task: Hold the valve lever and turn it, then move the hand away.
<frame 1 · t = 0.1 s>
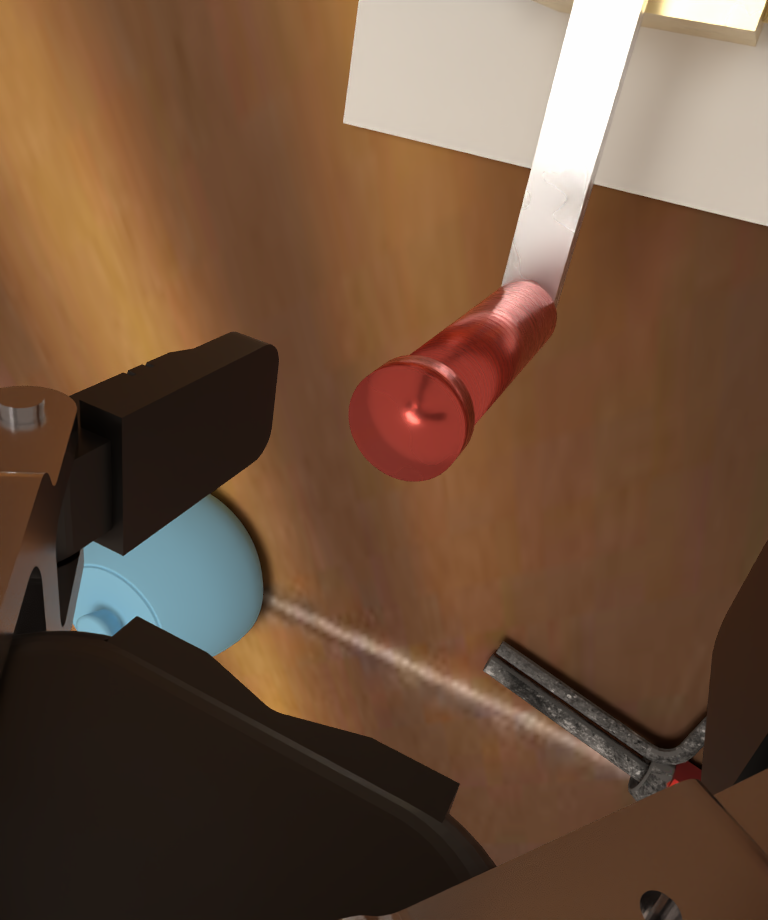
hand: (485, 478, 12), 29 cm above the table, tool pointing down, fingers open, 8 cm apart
valve lever: (540, 119, 20), point 18 cm above the table, hinge at 0.0°
sugar bowl: (198, 549, 60), on the table
dark elongated piece: (687, 732, 48), on the table
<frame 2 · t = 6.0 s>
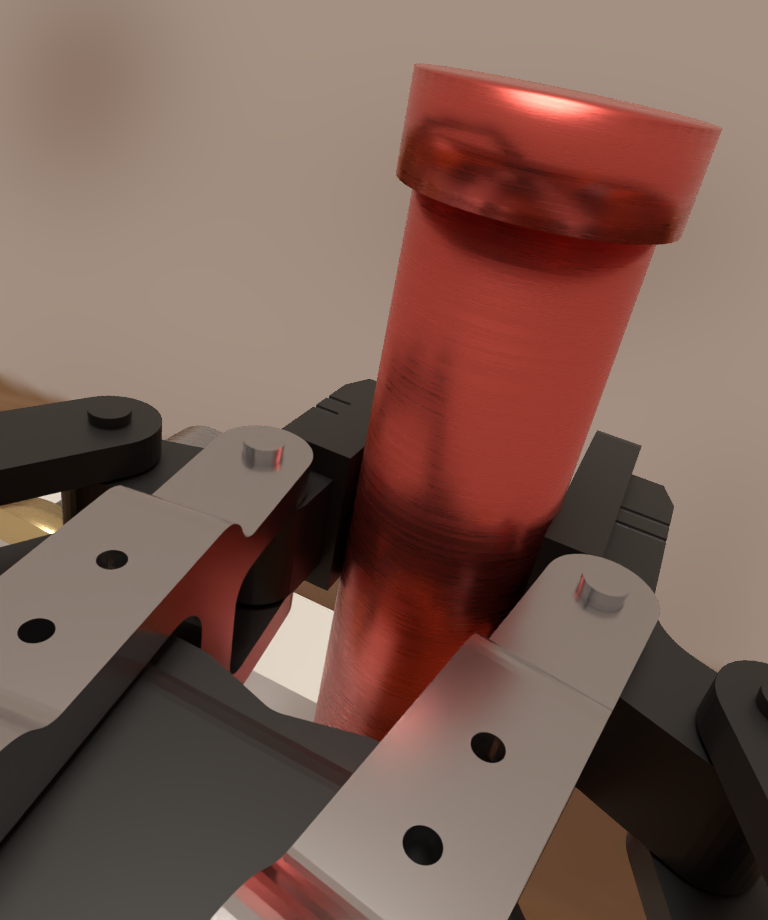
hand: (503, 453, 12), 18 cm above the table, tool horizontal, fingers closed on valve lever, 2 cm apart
valve lever: (63, 418, 12), point 18 cm above the table, hinge at 0.0°, touching gripper
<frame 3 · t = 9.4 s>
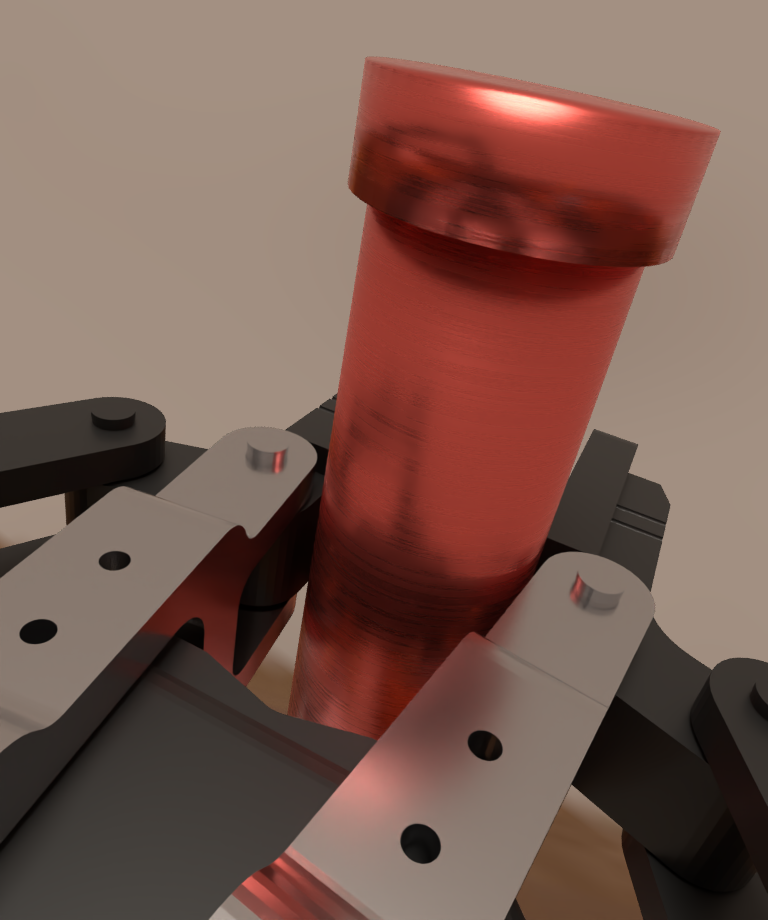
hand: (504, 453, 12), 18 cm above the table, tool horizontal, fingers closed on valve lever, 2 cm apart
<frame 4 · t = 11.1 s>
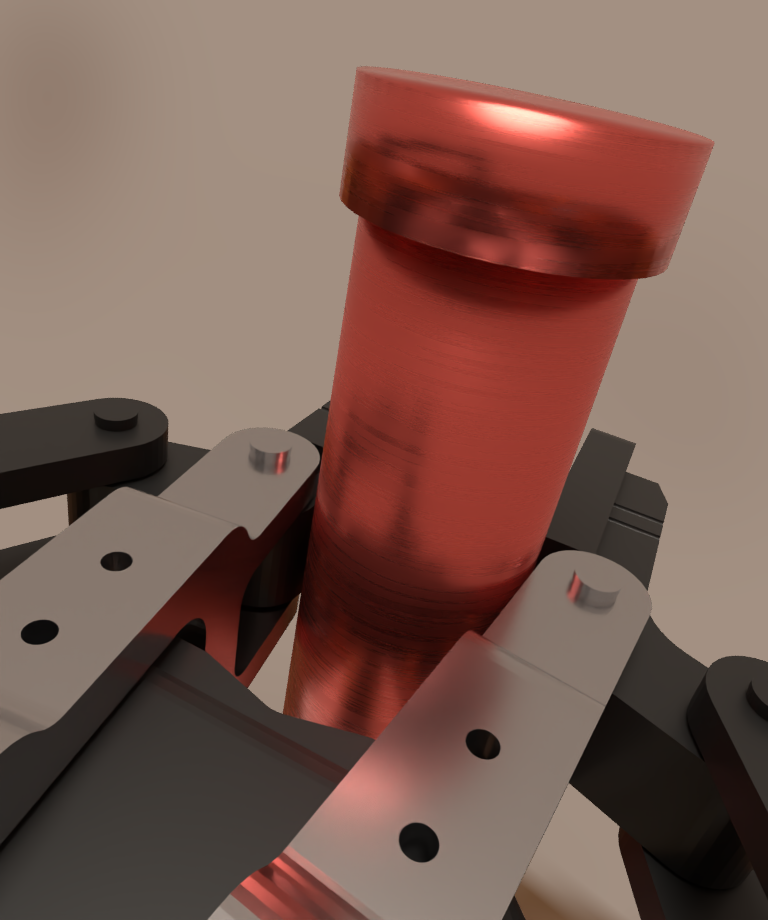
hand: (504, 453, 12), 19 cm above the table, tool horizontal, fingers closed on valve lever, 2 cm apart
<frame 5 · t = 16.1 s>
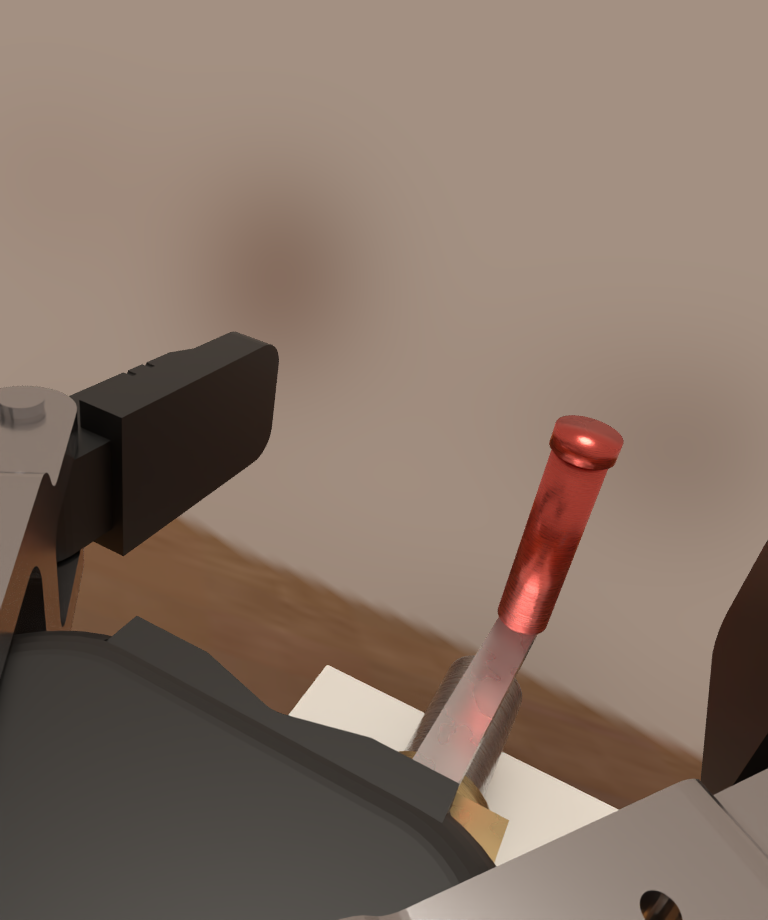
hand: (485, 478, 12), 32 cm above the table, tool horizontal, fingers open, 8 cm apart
valve lever: (501, 623, 30), point 18 cm above the table, hinge at 87.2°
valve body: (377, 915, 30), on the mounting board, point 6 cm above the table
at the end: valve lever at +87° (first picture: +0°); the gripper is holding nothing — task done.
